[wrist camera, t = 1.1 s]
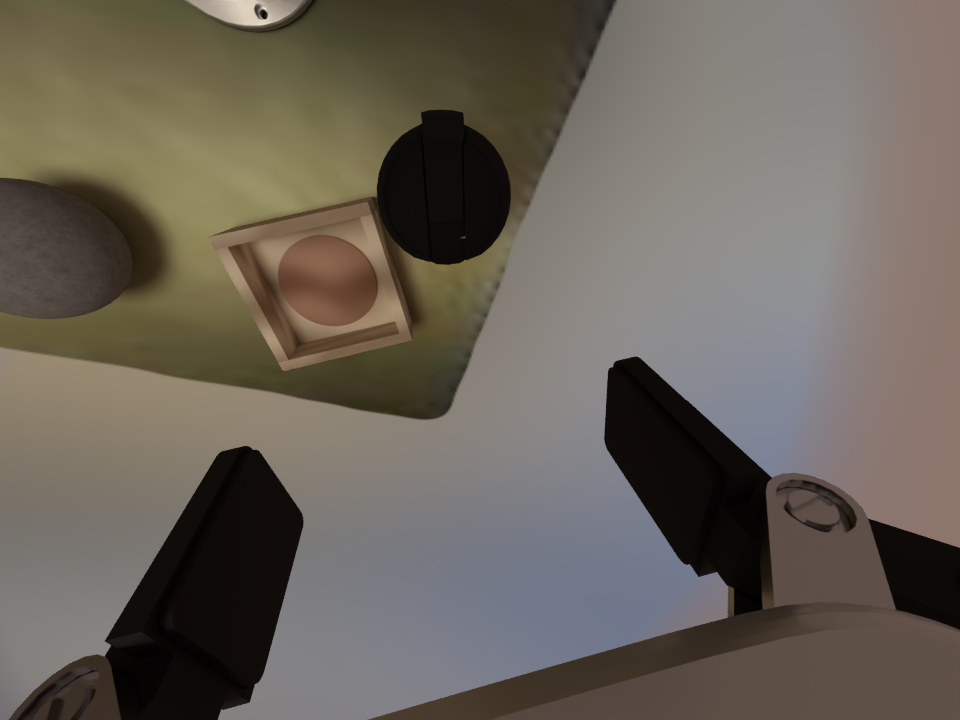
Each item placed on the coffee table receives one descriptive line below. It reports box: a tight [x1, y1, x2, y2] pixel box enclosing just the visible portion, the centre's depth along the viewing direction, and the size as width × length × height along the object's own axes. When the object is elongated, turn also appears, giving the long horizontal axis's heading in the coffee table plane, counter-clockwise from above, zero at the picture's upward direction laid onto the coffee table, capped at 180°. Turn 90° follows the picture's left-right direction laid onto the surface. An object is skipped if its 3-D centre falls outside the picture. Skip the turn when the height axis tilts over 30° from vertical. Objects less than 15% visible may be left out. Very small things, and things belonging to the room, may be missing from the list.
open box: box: [208, 197, 412, 371], centre depth 34 cm, size 13×13×4 cm
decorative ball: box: [0, 178, 133, 319], centre depth 27 cm, size 10×10×10 cm
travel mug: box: [377, 110, 511, 265], centre depth 24 cm, size 6×7×20 cm
